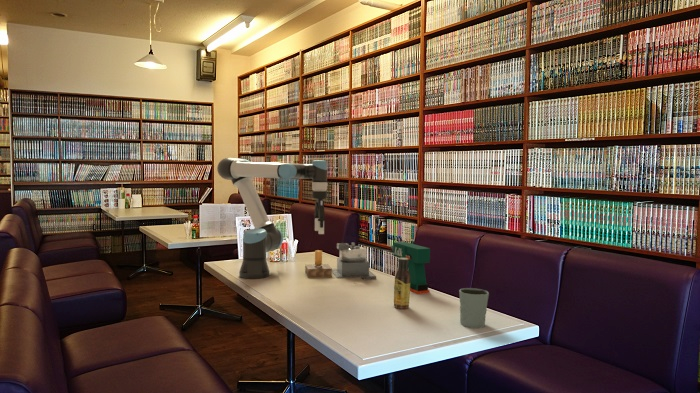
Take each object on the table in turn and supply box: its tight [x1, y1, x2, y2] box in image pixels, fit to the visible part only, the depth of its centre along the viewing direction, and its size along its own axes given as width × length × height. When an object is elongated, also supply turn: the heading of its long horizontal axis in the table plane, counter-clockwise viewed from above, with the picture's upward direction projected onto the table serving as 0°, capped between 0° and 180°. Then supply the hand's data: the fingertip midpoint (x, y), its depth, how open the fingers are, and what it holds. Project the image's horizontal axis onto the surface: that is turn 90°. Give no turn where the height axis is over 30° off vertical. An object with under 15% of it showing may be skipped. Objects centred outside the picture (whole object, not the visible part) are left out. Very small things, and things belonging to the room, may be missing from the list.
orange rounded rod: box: [314, 249, 323, 267], centre depth 246 cm, size 4×4×12 cm
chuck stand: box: [332, 257, 377, 280], centre depth 250 cm, size 20×20×8 cm
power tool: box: [389, 241, 431, 295], centre depth 229 cm, size 32×7×20 cm, turn 25°
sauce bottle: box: [393, 257, 411, 310], centre depth 192 cm, size 7×6×20 cm
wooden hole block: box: [304, 263, 333, 278], centre depth 246 cm, size 12×12×5 cm
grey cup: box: [458, 287, 490, 329], centre depth 172 cm, size 10×10×12 cm
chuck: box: [336, 242, 368, 262], centre depth 249 cm, size 15×14×9 cm
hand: (319, 232), depth 245 cm, fingers open, 13 cm apart
